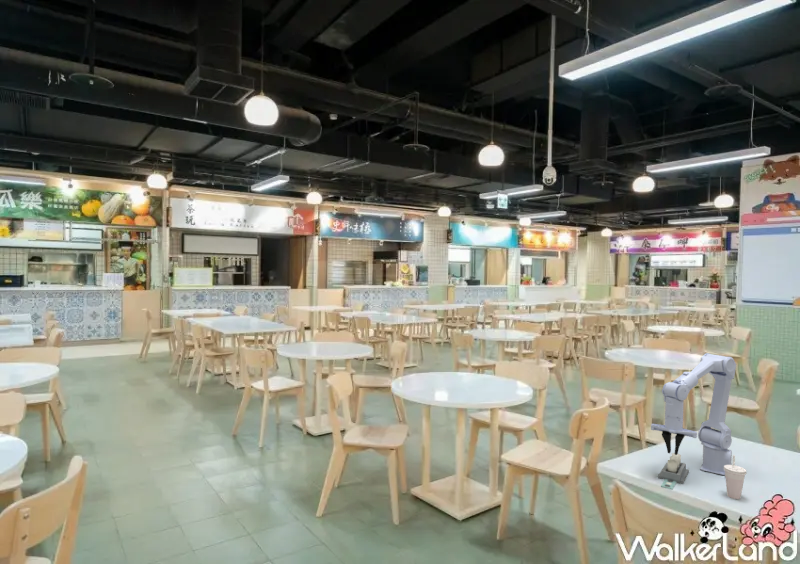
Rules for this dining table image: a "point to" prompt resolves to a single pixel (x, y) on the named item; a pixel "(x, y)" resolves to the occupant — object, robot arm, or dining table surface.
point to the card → (668, 484)
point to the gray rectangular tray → (674, 474)
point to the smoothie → (734, 480)
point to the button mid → (675, 460)
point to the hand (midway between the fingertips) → (672, 453)
